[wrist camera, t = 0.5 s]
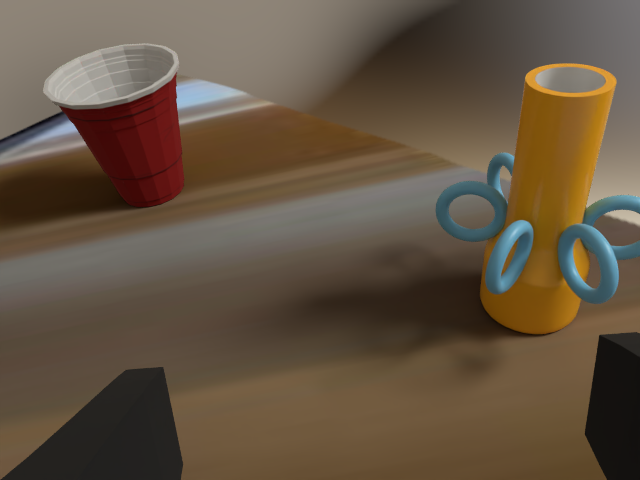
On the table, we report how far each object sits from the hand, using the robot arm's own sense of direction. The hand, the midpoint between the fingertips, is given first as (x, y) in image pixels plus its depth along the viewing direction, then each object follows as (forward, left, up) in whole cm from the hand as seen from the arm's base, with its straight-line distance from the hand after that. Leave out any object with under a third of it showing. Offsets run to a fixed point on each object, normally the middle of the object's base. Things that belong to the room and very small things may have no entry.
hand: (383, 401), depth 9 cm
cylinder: (+19, -11, -19) cm, 29 cm away
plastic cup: (+37, +18, -19) cm, 46 cm away
